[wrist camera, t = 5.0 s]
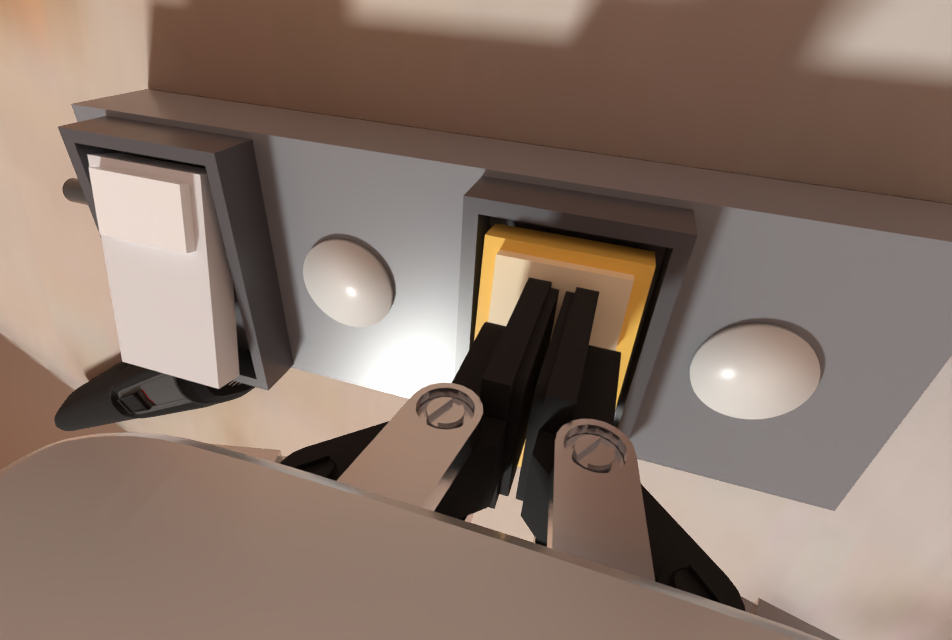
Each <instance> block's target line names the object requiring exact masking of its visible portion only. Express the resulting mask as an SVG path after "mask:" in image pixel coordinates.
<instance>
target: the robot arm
mask: <svg viewBox="0 0 952 640" xmlns="http://www.w3.org/2000/svg"><path fill="white" fill-rule="evenodd" d="M551 286H552V282H550V281H545V280H540V279H535V278H530V277H529V278H528V280H527V283H526V285H525V287H524V289H523V291H522V293H521V295H520V298H519V300H518V302H517V304H516V306H515V308H514V310H513V312H512V315H511V317H510V319H509V321H508V323H507V325H506V326H503V325H499V324H494V323H490V322H485V323H484V324H483V326H482V327H481V329H480V331H479V333H478V335H477V337H476V339H475V340H474V342H473V344H472V346H471V348H470V350H469V351H468V353H467V355H466V357H465V359H464V361H463V363H462V364H461V366H460V368H459V370H458V372H457V374H456V376H455V377H454V379H453V381H452V383H436V384H430V385H428V386H426V387H423V388H421V389H420V390H418V391H417V392H416V393H415V394H413V395H412V397H411V398H410V399H409V400H408V401H407V402H406V403H405V404H404V406H403V407H402V408H401V409H400V410H399V411H398V412H397V413H396V415H395V416H394V417H393V418H392V419H391V420H390V421H388V422H385V423H382V424H379V425H376V426H372V427H369V428H366V429H363V430H359V431H356V432H353V433H350V434H347V435H343V436H340V437H337V438H334V439H331V440H327V441H324V442H321V443H318V444H315V445H311V446H308V447H305V448H302V449H300V450H298V451H296V452H293V453H292V454H290V455H289V456H287V457H286V456H282V455H281V451H280V450H272V449H261V448H250V447H238V446H227V445H215V444H207V443H203V442H199V441H195V440H190V439H185V438H179V437H173V436H167V435H159V434H145V433H131V432H129V433H102V434H93V435H85V436H79V437H74V438H69V439H65V440H62V441H59V442H55V443H52V444H49V445H47V446H45V447H43V448H41V449H38V450H36V451H34V452H32V453H30V454H28V455H26V456H25V457H23V458H21V459H19V460H17V461H16V462H14V463H12V464H10V465H9V466H7V467H5V468H4V469H2V470H0V640H839V639H837V638H836V637H834V636H832V635H830V634H828V633H826V632H824V631H822V630H820V629H818V628H816V627H814V626H812V625H810V624H808V623H806V622H804V621H802V620H800V619H799V618H797V617H795V616H793V615H791V614H789V613H787V612H785V611H783V610H781V609H779V608H777V607H775V606H773V605H771V604H769V603H767V602H765V601H763V600H761V599H760V598H758V600H757V601H756V602H755V604H754V603H752V602H751V601H749V600H747V599H745V598H743V597H741V596H740V594H739V592H738V590H737V589H736V587H735V586H734V585H733V583H732V582H731V581H730V579H729V578H728V577H727V575H726V574H725V573H724V572H723V571H722V570H721V569H720V568H719V567H718V566H717V565H716V564H715V563H714V562H713V560H712V559H711V558H710V557H709V556H708V555H707V554H706V553H705V552H704V551H703V550H702V549H701V548H700V547H699V546H698V544H697V543H696V542H695V541H694V540H693V539H692V538H691V537H690V536H689V535H688V534H687V533H686V532H685V531H684V529H683V528H682V527H681V526H680V525H679V524H678V523H677V522H676V521H675V520H674V519H673V518H672V517H671V516H670V514H669V513H668V512H667V511H666V510H665V509H664V508H663V507H662V506H661V505H660V504H659V503H658V502H657V501H656V499H655V498H654V497H653V496H652V495H651V494H650V493H649V492H648V491H647V490H646V489H645V488H644V487H643V486H642V484H641V482H640V476H639V469H638V462H637V456H636V452H635V449H634V446H633V444H632V442H631V441H630V440H629V439H628V437H627V436H626V435H625V434H624V433H623V432H621V431H620V430H619V429H618V428H616V427H614V417H615V408H616V399H617V390H618V380H619V371H620V362H621V352H618V351H614V350H609V349H605V348H601V347H596V346H592V345H589V341H590V336H591V331H592V326H593V321H594V317H595V312H596V307H597V302H598V297H599V291H594V290H589V289H585V288H580V287H576V291H575V293H574V292H569V291H566V293H565V296H564V300H563V303H562V306H561V309H560V312H559V315H558V318H557V322H556V325H555V328H554V331H553V334H552V329H553V323H554V318H555V312H556V307H557V301H558V295H559V289H554V288H551ZM551 334H552V337H551ZM525 440H526V441H525ZM524 443H525V447H524V453H523V459H522V465H521V471H520V476H519V482H518V488H517V494H516V499H518V500H522V501H523V506H522V512H521V517H522V518H523V520H524V521H525V523H526V524H527V526H528V527H529V529H530V530H531V532H532V533H533V535H534V540H533V542H529V541H526V540H523V539H520V538H517V537H514V536H510V535H507V534H504V533H501V532H498V531H495V530H491V529H488V528H485V527H482V526H479V525H476V524H472V523H471V521H472V518H473V513H475V512H477V511H480V510H482V509H484V508H487V507H490V508H493V509H495V505H496V502H497V499H498V496H499V494H502V495H505V496H508V495H509V492H510V489H511V486H512V483H513V479H514V476H515V473H516V470H517V466H518V463H519V460H520V456H521V453H522V450H523V446H524Z"/></svg>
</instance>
